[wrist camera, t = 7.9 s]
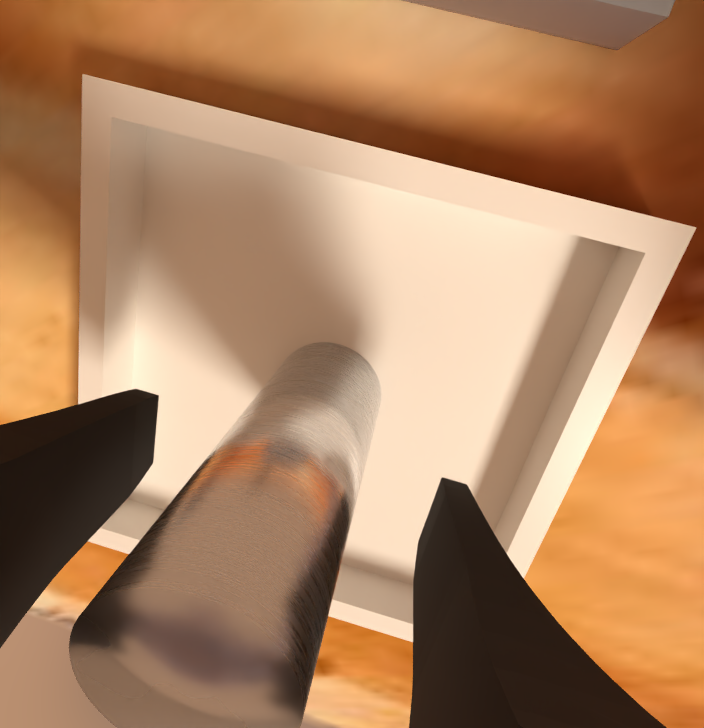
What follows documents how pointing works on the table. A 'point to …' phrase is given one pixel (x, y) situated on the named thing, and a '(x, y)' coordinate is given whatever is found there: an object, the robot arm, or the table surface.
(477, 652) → the robot arm
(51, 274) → the table surface
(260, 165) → the tray
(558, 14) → the socket block
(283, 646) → the pin
